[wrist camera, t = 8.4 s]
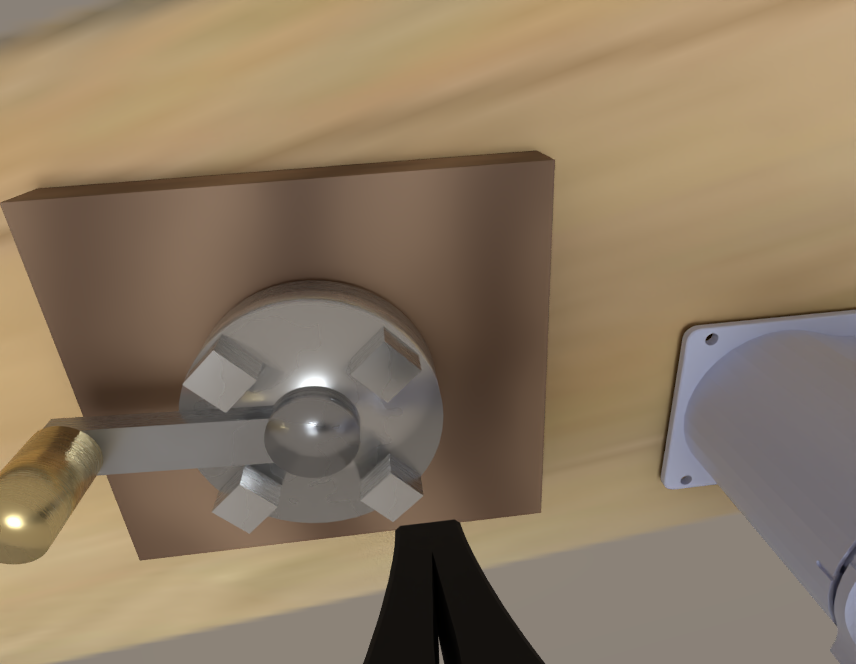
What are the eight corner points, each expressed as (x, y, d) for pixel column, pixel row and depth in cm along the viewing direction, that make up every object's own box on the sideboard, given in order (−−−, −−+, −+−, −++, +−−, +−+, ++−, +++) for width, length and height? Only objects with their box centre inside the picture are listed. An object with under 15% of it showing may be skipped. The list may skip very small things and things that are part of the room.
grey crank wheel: (435, 274, 18) (464, 360, 13) (436, 475, 21) (459, 605, 16) (35, 292, 17) (-111, 393, 12) (104, 499, 20) (15, 648, 15)
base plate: (536, 150, 19) (556, 160, 17) (528, 480, 25) (541, 514, 23) (36, 188, 18) (-3, 203, 16) (156, 523, 24) (138, 562, 22)
